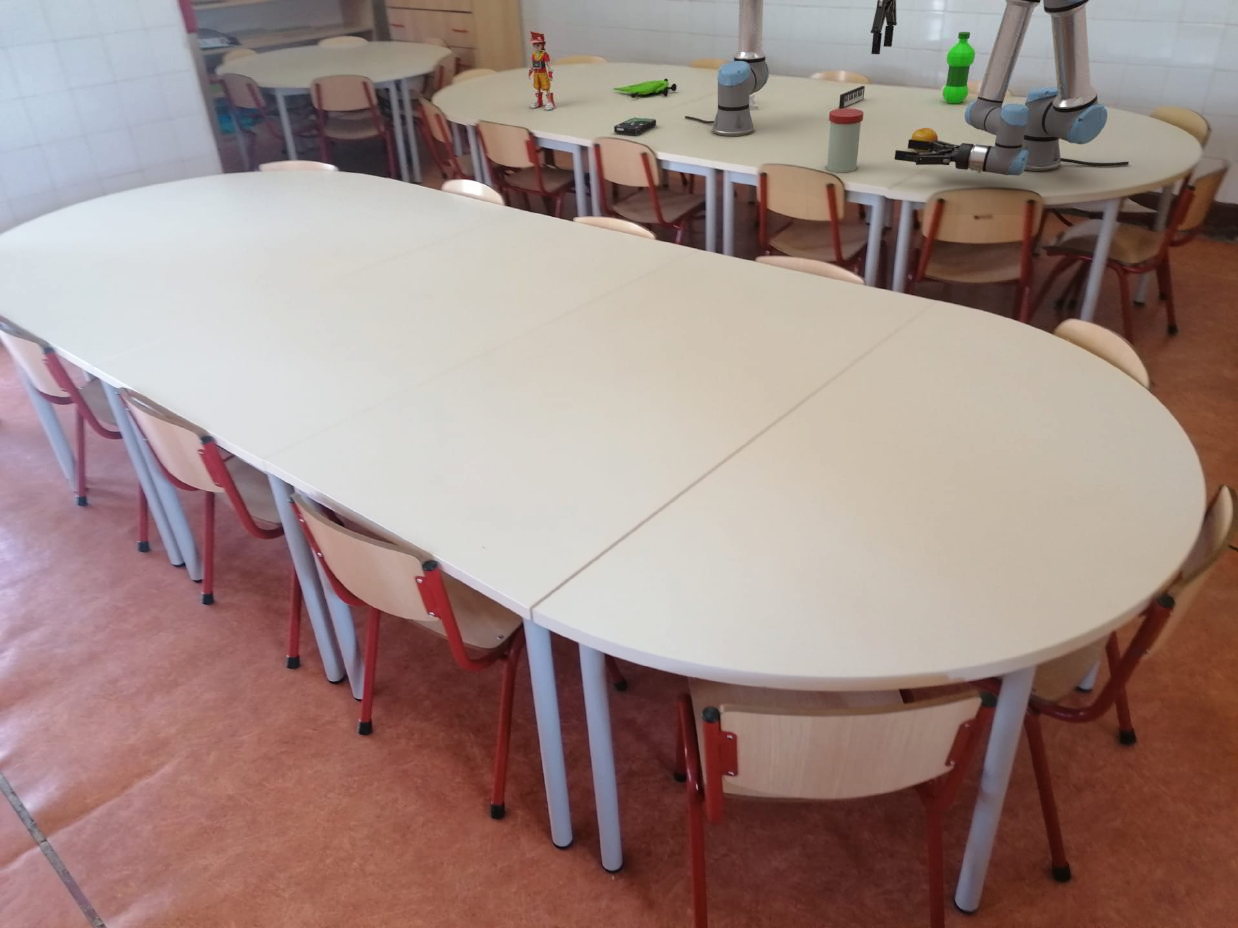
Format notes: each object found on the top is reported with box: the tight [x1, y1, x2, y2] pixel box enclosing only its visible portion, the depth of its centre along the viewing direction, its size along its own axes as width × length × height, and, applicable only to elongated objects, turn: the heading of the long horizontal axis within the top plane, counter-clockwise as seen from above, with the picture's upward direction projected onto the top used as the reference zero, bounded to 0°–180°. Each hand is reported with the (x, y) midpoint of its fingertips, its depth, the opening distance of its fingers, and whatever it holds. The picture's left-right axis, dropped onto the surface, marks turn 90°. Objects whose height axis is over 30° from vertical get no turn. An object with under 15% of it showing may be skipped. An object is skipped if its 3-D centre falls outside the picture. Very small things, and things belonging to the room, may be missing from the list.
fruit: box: [910, 127, 939, 152], centre depth 303 cm, size 8×8×8 cm
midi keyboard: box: [838, 85, 866, 109], centre depth 359 cm, size 18×1×5 cm, turn 138°
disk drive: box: [613, 116, 657, 136], centre depth 344 cm, size 10×3×15 cm
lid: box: [828, 108, 864, 124], centre depth 284 cm, size 10×10×2 cm
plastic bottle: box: [942, 31, 976, 104], centre depth 348 cm, size 10×10×25 cm
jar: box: [826, 121, 862, 173], centre depth 289 cm, size 9×9×17 cm
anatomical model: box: [749, 94, 760, 109], centre depth 364 cm, size 15×10×10 cm
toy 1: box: [527, 31, 556, 111], centre depth 374 cm, size 12×9×30 cm
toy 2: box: [612, 78, 677, 99], centre depth 396 cm, size 28×5×30 cm
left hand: (881, 50), depth 308 cm, fingers open, 13 cm apart
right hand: (901, 149), depth 280 cm, fingers open, 13 cm apart
